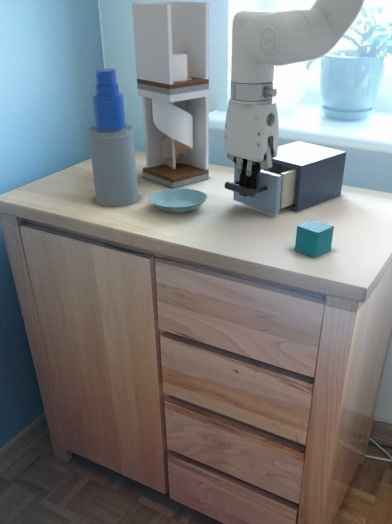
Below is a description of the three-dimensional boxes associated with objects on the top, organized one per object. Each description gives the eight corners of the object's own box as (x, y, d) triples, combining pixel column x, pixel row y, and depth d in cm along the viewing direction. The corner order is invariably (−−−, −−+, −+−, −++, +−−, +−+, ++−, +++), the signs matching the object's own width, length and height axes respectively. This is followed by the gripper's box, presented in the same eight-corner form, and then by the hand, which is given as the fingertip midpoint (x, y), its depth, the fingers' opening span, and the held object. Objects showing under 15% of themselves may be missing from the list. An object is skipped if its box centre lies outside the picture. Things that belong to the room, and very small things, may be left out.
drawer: (258, 220, 105) (260, 182, 101) (216, 205, 112) (216, 169, 108) (318, 198, 116) (322, 162, 112) (276, 185, 123) (278, 151, 119)
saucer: (137, 209, 114) (136, 198, 113) (176, 194, 121) (176, 184, 120) (180, 222, 107) (179, 211, 106) (218, 206, 115) (219, 195, 113)
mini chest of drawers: (297, 212, 112) (301, 165, 107) (251, 196, 119) (253, 153, 114) (340, 195, 120) (346, 151, 115) (294, 182, 128) (298, 141, 122)
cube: (330, 250, 96) (334, 226, 94) (315, 257, 94) (317, 233, 91) (310, 243, 99) (313, 219, 96) (294, 250, 96) (296, 225, 94)
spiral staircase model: (143, 176, 132) (132, 3, 113) (177, 168, 138) (173, 1, 118) (173, 188, 125) (167, 4, 105) (208, 178, 131) (208, 2, 111)
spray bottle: (125, 189, 124) (115, 64, 110) (145, 200, 118) (137, 69, 104) (89, 197, 120) (73, 68, 106) (107, 209, 114) (94, 74, 100)
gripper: (298, 94, 96) (289, 199, 106) (236, 84, 105) (233, 181, 116) (269, 100, 92) (262, 208, 102) (207, 89, 101) (207, 189, 112)
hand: (247, 193), depth 109 cm, fingers closed
